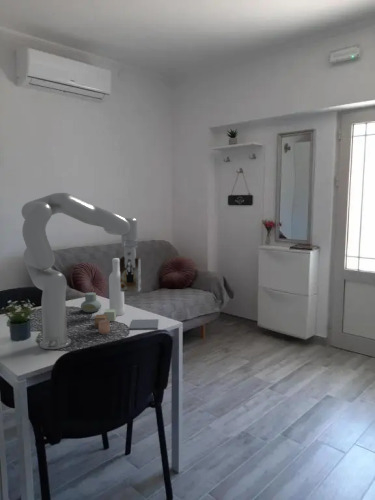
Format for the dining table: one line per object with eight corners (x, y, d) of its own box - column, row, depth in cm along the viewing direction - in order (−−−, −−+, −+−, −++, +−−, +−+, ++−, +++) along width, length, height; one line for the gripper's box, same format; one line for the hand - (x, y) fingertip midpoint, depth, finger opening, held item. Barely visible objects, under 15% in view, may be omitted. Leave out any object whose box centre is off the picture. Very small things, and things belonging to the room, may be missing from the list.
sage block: (114, 321, 195) (114, 312, 195) (104, 321, 195) (104, 312, 194) (115, 318, 200) (115, 309, 200) (106, 318, 200) (105, 309, 199)
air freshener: (79, 313, 210) (78, 295, 209) (83, 309, 218) (82, 291, 217) (99, 313, 210) (98, 295, 208) (102, 309, 218) (102, 291, 217)
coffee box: (119, 291, 184) (118, 258, 182) (123, 288, 191) (122, 256, 189) (139, 292, 184) (138, 258, 182) (141, 289, 190) (140, 256, 188)
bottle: (107, 315, 206) (105, 259, 202) (113, 311, 213) (111, 257, 210) (121, 316, 204) (119, 259, 200) (126, 312, 211) (125, 257, 208)
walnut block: (105, 327, 186) (105, 317, 186) (95, 327, 186) (94, 317, 185) (107, 324, 191) (107, 314, 190) (97, 324, 191) (96, 314, 190)
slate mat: (157, 329, 183) (157, 327, 183) (129, 329, 183) (129, 328, 183) (158, 320, 196) (158, 319, 196) (132, 321, 196) (132, 319, 196)
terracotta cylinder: (109, 333, 177) (108, 323, 177) (97, 333, 177) (97, 323, 177) (110, 330, 182) (110, 319, 182) (99, 330, 182) (99, 319, 181)
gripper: (136, 246, 176) (137, 284, 178) (138, 241, 193) (139, 277, 195) (119, 246, 175) (120, 285, 178) (123, 242, 193) (124, 277, 195)
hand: (130, 280), depth 187 cm, fingers closed on coffee box, 6 cm apart
